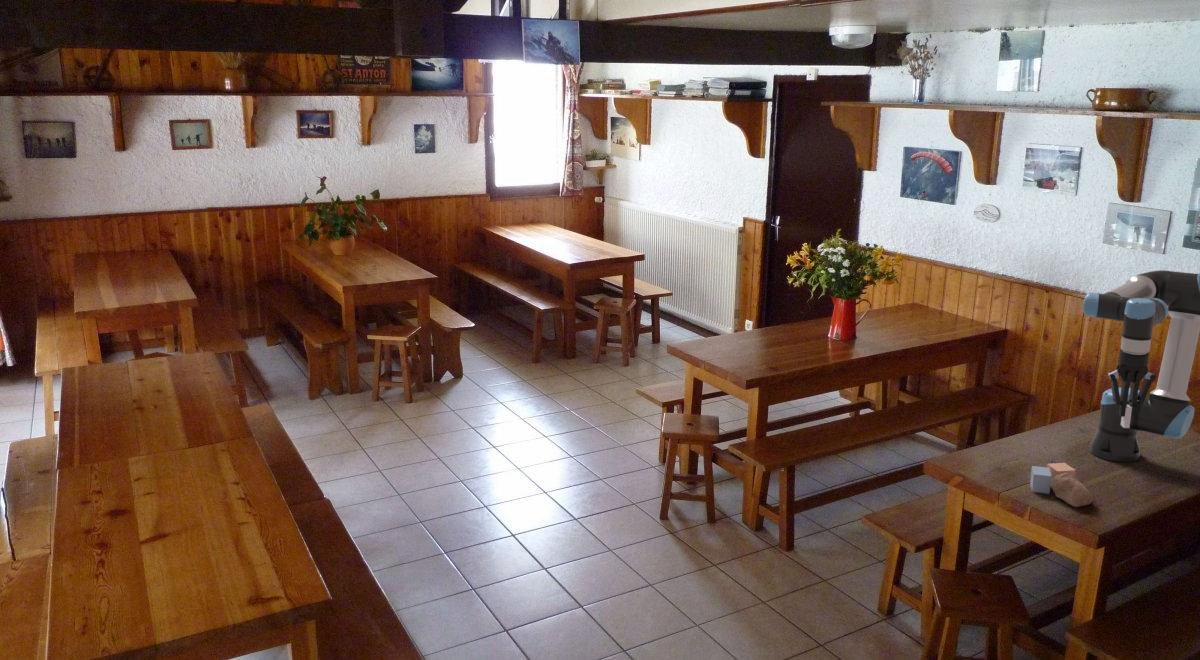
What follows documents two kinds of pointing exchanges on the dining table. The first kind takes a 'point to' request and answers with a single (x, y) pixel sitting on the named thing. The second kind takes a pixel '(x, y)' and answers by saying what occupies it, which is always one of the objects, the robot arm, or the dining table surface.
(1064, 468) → the terracotta block
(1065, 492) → the stone
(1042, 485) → the slate block
